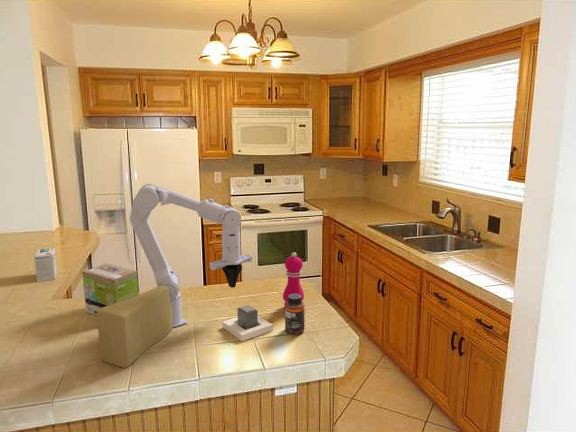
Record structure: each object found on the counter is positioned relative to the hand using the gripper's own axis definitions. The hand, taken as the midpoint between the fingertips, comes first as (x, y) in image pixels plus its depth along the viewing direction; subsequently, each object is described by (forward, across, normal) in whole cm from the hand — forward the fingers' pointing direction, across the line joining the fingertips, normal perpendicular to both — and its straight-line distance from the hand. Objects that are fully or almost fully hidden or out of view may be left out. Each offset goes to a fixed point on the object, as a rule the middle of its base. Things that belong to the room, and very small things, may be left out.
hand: (232, 286), depth 137 cm
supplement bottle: (+11, +10, -20) cm, 25 cm away
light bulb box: (+11, -41, +78) cm, 89 cm away
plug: (+10, -1, -10) cm, 14 cm away
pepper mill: (+11, +20, -7) cm, 24 cm away
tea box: (+11, -30, +27) cm, 42 cm away
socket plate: (+10, -1, -10) cm, 15 cm away
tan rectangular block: (+11, -30, -1) cm, 32 cm away
